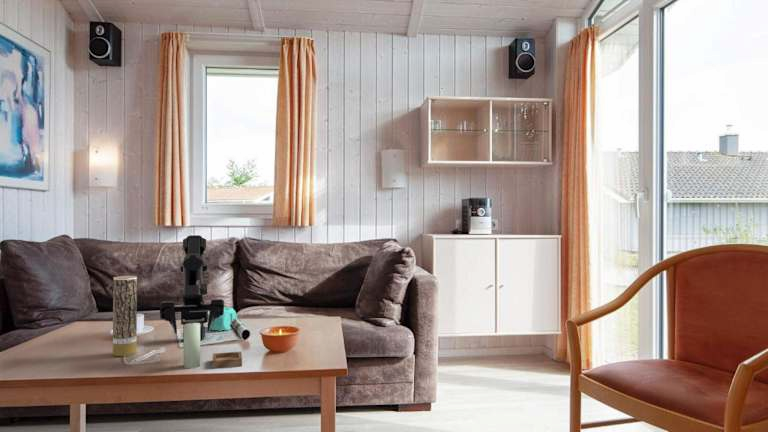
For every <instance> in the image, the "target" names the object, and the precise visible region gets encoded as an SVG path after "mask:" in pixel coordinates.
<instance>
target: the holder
mask: <svg viewBox="0 0 768 432" xmlns="http://www.w3.org/2000/svg"><path fill="white" fill-rule="evenodd" d="M211 366H212V369H223V368H234V367H235V368H237V367H242V366H243V355H242V351H230V352H216V353H215V352H213V353H212V364H211Z"/></svg>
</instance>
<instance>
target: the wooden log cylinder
mask: <svg viewBox="0 0 768 432" xmlns="http://www.w3.org/2000/svg"><path fill="white" fill-rule="evenodd" d="M112 283H113V284H112V285H113V287H112V288H113V289H112V290H113V291H112V304H113V305H112V354H113V356H114V357H124V356H125V357H128V356H127V355H129V356H134V355H133V354H135V355H136V354H137V353H136V352H137V341H138V340H137V339H138V337H137V330H138V328H137V326H138V324H137V322H138V320H137V319H138V318H137V317H138V314H137V313H138V310H137V309H138V307H137V306H138V276H135V275H120V276H114V277H113V281H112Z"/></svg>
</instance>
